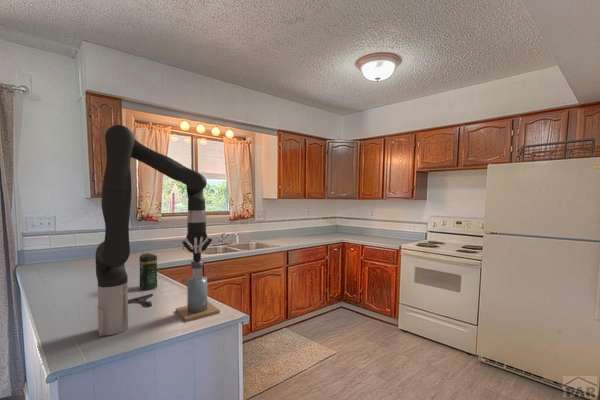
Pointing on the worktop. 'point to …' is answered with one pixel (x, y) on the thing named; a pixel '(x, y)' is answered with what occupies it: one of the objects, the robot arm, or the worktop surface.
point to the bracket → (143, 301)
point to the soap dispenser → (197, 299)
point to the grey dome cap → (197, 264)
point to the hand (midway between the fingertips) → (197, 261)
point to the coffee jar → (148, 271)
